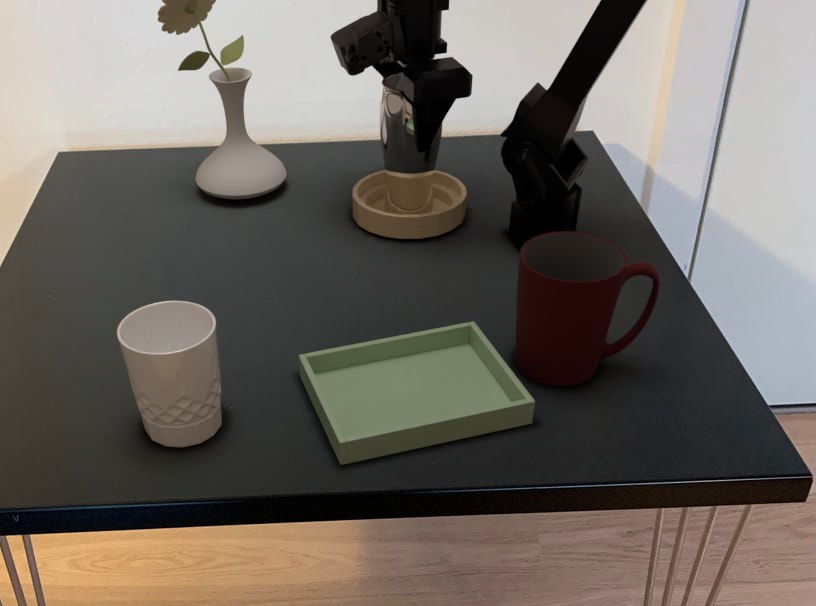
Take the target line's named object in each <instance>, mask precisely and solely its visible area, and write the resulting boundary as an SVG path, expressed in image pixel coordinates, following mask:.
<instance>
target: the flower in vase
mask: <svg viewBox="0 0 816 606" xmlns="http://www.w3.org/2000/svg"><path fill="white" fill-rule="evenodd" d="M161 2H162V3H163V4H164V5H161V6H160V7H159V9H158V11H157V16H158V17H157V22H158V23H161V24H162V27H161V31H162V32H167V34H169V35H172V34H173V33H175V35H176V36H180V35H183V34H187V33H189V32H190V31H191V30H192V29H195V28H197V27H198V26H199V28H200V32H201V34H202V37H203V40H204V43H205V47H206V49H207V51H208V52H207V51H204V50H203V51H202V50H196V51H193V52H191V53H189V54H188V55H187V56H185V58H183V60H182V61H181V63H180V64H179V67H178V69H177V71H178V72H181V71H198V70H200V69H202V68H203V67H204V66H205V64H207V62H208V60H209V59H210V56H211V57H212V59H213V60H214V62H215V63H216V64H217V66H218V67H219V69H216V70H214V71H212V72H210V74H209V75H208V79H209V81H211V82H212V84H213V85H214V86H215V87H216V90H217V92H218V93H219V96H220V99H221V102H222V106H223V112H224V117H225V125H226V127H225V128H226V132H225V133H226V134H225V137H224V140H223V141H222V143H221V144H220V145H219V146H218V147H217V148H216V149H214V150H213V151H212V152H211V153H210V154H209V155H208V156H207V157H206V158H205V159H204V160H203V162H202V163H201V164H200V165H199V167H198V168H197V170H196V173H195V174H196V175H195V183H196V185H197V186H198V187H199V188H200V189H201V190H202V191H203V192H204V193H205V194H207V195H209V196H212V197H215V198H219V199H227V200H246V199H252V198H258V197H261V196H264V195H267V194H270V193H271V192H274V191H275V190H278V188H280V187H281V186H282V184H283V183H284V181H285V179H286V177H287V174H288V173H287V169H286V168H285V165H284V163H283V161H282V160H280V159H279V157H277V156H276V155H275V154H274V153H272V152H271V151H269V150H268V149H266V148H265V147H263V146H262V145H259V143H256V142H255V141H254V140H253V139H252V138H251V137H250V136H249V134H248V131H247V127H246V121H245V94H246V89H247V86H248V83H249V81H250V80H251V78H252V76H253V72H252V71H251V70H250V69H247V68H243V67H224V66H228V65H230V64H233V63H234V62H237V61H239V59H241V58H242V56H243V54H244V48H245V38H244V37H245V36H244V35H243V34H242V35H241V36H239V37H238V38H236V39H235V40H234V41H232V42H230V43H229V44H227V45H225V46H224V47H223V48H222V49H221V50H220V56H219V57H220V58H219V59H220V61H219V59H218V58H217V57H216V55H215V54H214V52H213V51H212V48H211V46H210V43H209V41H208V37H207V34H206V32H205V28H204V26H203V24H202V22H204V21H206V20H207V18H208V15H209V14H208V13H211V11H212V9H213V5H215V3H216V2H217V0H161Z"/></svg>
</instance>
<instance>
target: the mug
mask: <svg viewBox="0 0 816 606" xmlns="http://www.w3.org/2000/svg"><path fill="white" fill-rule="evenodd" d="M518 258H519V259H518V260H519V261H518V269H517V284H516V312H515V315H516V318H515V352H514V353H515V358H514V359H515V365H516V367H517V369H518V370H519V371H520V373H521V374H522V375H524V376H525V377H527V378H528V379H530V380H532V381H534V382H536V383H540V384H542V385H543V384H544V385H547V386H554V387H569V386H575V385H579V384H582V383H584V382H586V381H588V380H590V379H591V378H592V377H593V376H594V374H595V373H596V371H597V369H598V365H599V362H600V361H602V360H605V359H607V358H610V357H612V356H615V355H617V354H619V353H620V352H622V351H623V350H625V349H626V348H627V347H628V346H629V345H630V344H632V343H633V342H634V340H636V338H638V336H639V335H640V334H641V332H642V331H643V329H644V327H645V326H646V325H647V323H648V321H649V319H650V317H651V315H652V313H653V311H654V308H655V306H656V303H657V300H658V296H659V291H660V276H659V273H658V271H657V269H656V268H655V266H654V265H653V264H651V263H649V262H645V261H641V262H634V263H632V264H630V265H628V266H627V263H628V257H627V255H626V252H625V251H624V250H623V249H622V248H621V246H619V245H618V244H617V243H615V242H613V241H611V240H609V239H608V238H605V237H602V236H600V235H597V234H592V233H588V232H582V231H576V232H572V231H560V232H551V233H545V234H542V235H538V236H536V237H534V238H532V239H530V240H528V241H527V242H526V243H525V244H524V245H523V246H522V248H520V250H519V257H518ZM637 276H646V277H647V278H650V279H651V280H652V286H651V291H650V294H649V296H648V299H647V302H646V305H645V306H644V308H643V311H642V313H641V314H640V316H639V318H638V319H637V321H636V322H635V323H634V325H633V326H632V327H631V328H630V329H629V330H628V331H627V332H626V333H625V334H624V335H623V336H621V337H620V338H619V339H617V340H616V341H614V342H611V343H608V342H607V336H608V332H609V329H610V326H611V323H612V320H613V316H614V313H615V310H616V307H617V303H618V300H619V296H620V294H621V290H622V288H623V287H624V285H625V284H626V282H627V281H628V280H630V279H631V278H633V277H637Z"/></svg>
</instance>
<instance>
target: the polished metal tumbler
mask: <svg viewBox="0 0 816 606" xmlns="http://www.w3.org/2000/svg"><path fill="white" fill-rule="evenodd" d="M402 76H403V72H399V73H394V74H391V75H389V76H387V77H385V78H384V79H383V78H382V80H381V90H380V91H381V93H380V104H379V137H380V145H381V151H382V158H383V163H384V170H386V177H387V190H386V197H385V202H384V207H383V212H386V213H393V214H401V215H418V214H425V213H431V212H435V208H434V200H433V192H432V182H433V174H434V170H436V165H437V159H438V155H439V150H440V146H441V141H442V134H443V126H444V125H443V123H444V121H443V122H442V124H441V126H440V127H439V129H438V131H437V133H436V135H435V137H434V139H433V141H432V143H431V145H430V147H429V149H428V150H427V151H426V152H421V153H419V152H418V151H417V148H416V142H415V134H414V125H413V115H412V107H411V104H409V103H408V102H407V101H406V100H405V99H404V98H403V97H402V96H401V95H400V93H399V91H404V89H403V84H402Z"/></svg>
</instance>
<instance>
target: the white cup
mask: <svg viewBox="0 0 816 606" xmlns="http://www.w3.org/2000/svg"><path fill="white" fill-rule="evenodd" d="M116 337H117V340H118V344H119V347H120V352H121V354H122V358H123V361H124V365H125V369H126V372H127V376H128V380H129V383H130V387H131V389H132V392H133V395H134V401H135V402H136V405H137V408H138V411H139V413H140V416H141V420H142V424H143V427H144V430H145V432H146V433H147V435H148V436H149V438H150V439H151V441H153V442H155V443H157V444H159V445H162V446H164V447H168V448H169V447H171V448H187V447H191V446H197V445H200V444H203V443H204V442H205V441H207V440H209V439H211V438H212V437H214V436H215V435H216V434H217V432H218V431H219V429H220V428H221V427H222V425H223V408H222V378H221V377H222V376H221V365H220V354H219V343H218V342H219V341H218V331H217V319H216V316H215V315H214V313H213V312H212V311H211V310H210V309H209V308H207V307H206V306H203V305H202V304H199V303H195V302H192V301H186V300H164V301H159V302H153V303H150V304H147V305H144V306H141V307H139V308H136V309H135V310H133V311H131V312H130V313H128V314H127V315H125V317H123V319H122V320H121V321H120V322H119V324H118V325H117V329H116Z"/></svg>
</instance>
